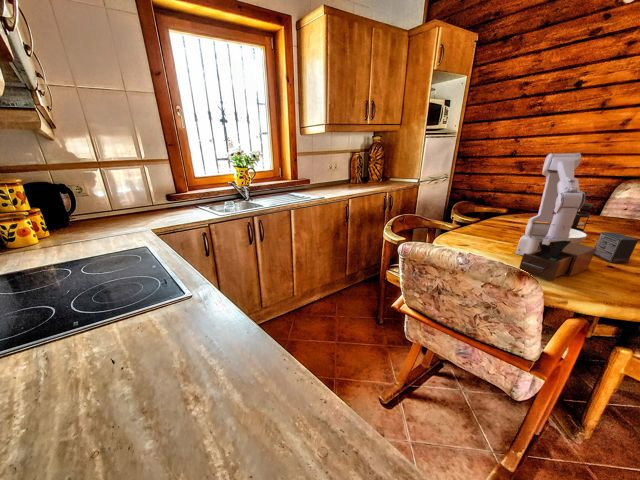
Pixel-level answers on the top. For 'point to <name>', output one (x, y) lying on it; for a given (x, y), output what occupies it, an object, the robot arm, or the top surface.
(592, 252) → the cabinet
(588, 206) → the french press
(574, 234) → the serving bowl
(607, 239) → the small box
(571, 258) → the drawer
